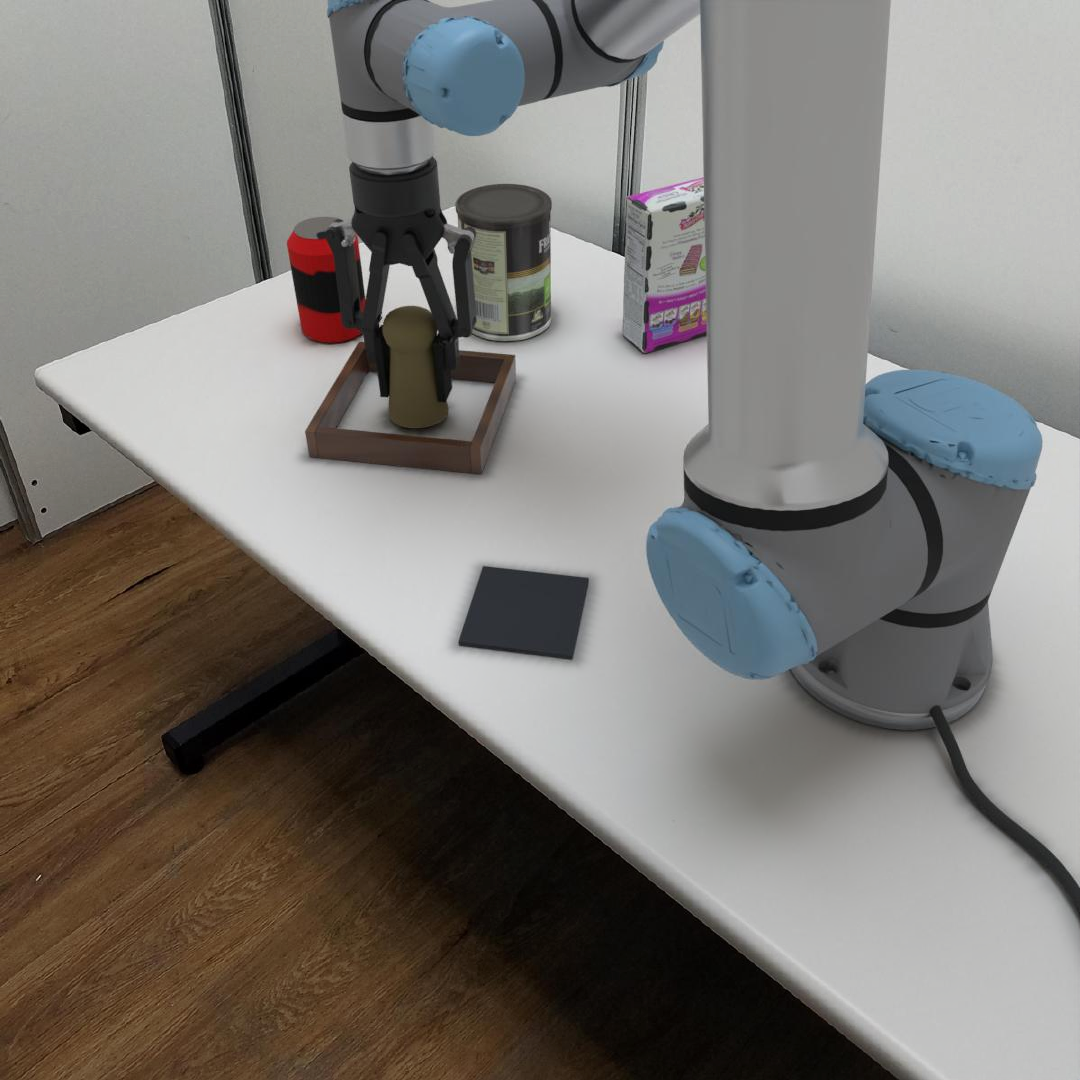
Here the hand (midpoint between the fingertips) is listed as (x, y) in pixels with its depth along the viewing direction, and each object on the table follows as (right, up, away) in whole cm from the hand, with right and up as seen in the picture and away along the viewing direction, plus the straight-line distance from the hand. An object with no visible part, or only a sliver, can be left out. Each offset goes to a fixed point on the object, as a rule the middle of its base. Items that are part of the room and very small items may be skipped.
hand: (416, 392), depth 106 cm
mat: (+11, -20, -20) cm, 30 cm away
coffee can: (+8, +11, +17) cm, 22 cm away
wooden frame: (0, -2, +2) cm, 3 cm away
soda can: (-11, +9, +16) cm, 22 cm away
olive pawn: (0, -2, +2) cm, 2 cm away
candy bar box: (+27, +9, +15) cm, 32 cm away
